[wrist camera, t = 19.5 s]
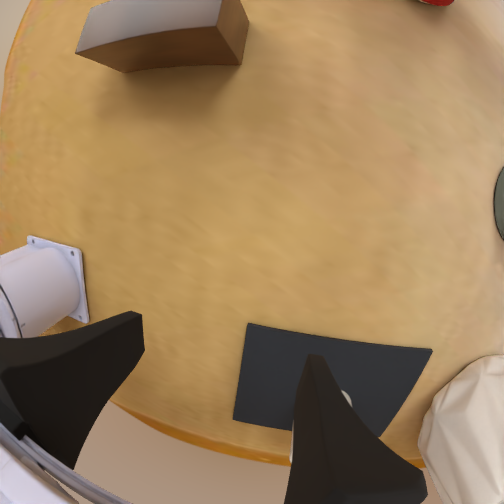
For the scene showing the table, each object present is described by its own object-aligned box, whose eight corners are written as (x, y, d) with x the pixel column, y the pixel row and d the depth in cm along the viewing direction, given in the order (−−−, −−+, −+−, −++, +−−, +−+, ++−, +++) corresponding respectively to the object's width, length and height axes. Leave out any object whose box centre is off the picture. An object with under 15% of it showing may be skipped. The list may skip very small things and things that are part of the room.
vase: (489, 418, 20) (522, 499, 6) (398, 445, 23) (413, 550, 8) (529, 330, 16) (598, 414, 2) (430, 358, 19) (489, 500, 5)
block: (122, 73, 17) (74, 53, 11) (133, 33, 16) (90, 7, 10) (241, 65, 16) (216, 26, 10) (249, 21, 15) (229, -24, 9)
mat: (233, 417, 24) (232, 419, 24) (248, 322, 21) (247, 325, 21) (379, 434, 22) (380, 436, 22) (431, 348, 19) (433, 351, 18)
